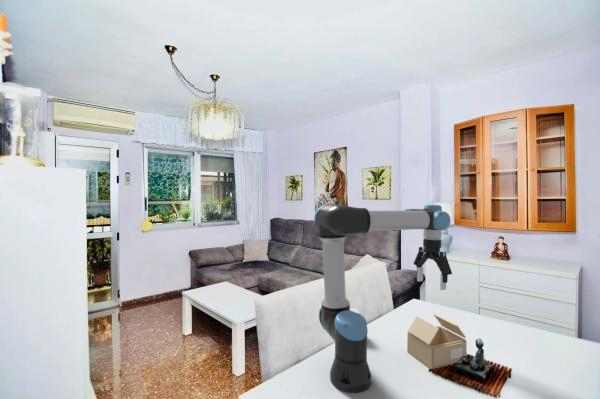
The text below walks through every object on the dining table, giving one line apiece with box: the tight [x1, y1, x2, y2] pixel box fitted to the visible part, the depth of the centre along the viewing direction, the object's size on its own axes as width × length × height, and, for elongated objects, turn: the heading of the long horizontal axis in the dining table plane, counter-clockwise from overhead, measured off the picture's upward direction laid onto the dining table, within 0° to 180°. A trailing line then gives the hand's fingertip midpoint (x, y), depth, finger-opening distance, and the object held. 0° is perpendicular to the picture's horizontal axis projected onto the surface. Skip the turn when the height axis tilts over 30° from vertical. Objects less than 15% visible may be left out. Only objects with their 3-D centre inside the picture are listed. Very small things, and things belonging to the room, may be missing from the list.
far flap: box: [433, 313, 467, 339], centre depth 129 cm, size 1×12×8 cm
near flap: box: [407, 316, 439, 345], centre depth 124 cm, size 1×12×8 cm
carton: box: [406, 325, 468, 370], centre depth 127 cm, size 18×16×9 cm
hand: (431, 285), depth 136 cm, fingers open, 13 cm apart
